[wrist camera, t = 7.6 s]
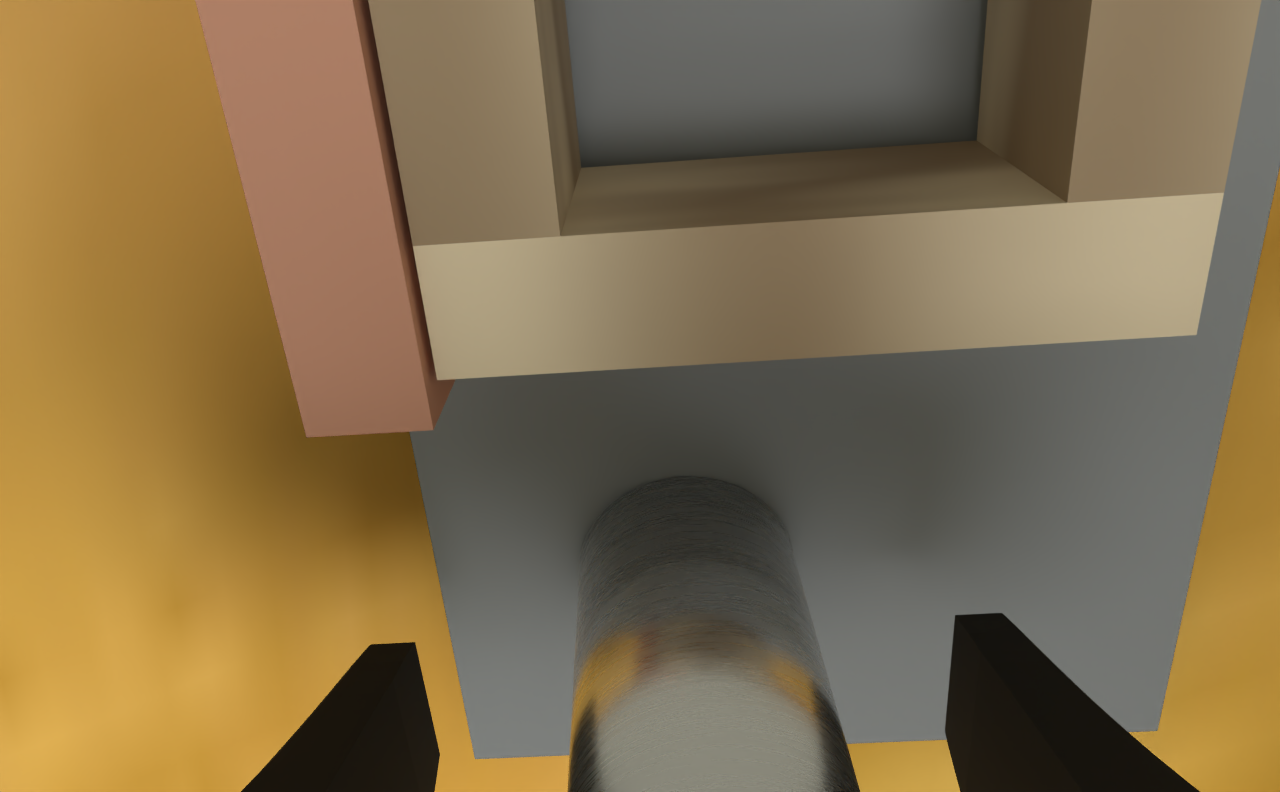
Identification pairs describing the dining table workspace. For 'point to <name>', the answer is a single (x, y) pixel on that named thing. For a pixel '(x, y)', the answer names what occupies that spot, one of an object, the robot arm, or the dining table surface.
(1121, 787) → the robot arm
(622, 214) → the wooden square ring
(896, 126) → the board
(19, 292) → the dining table surface
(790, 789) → the peg
